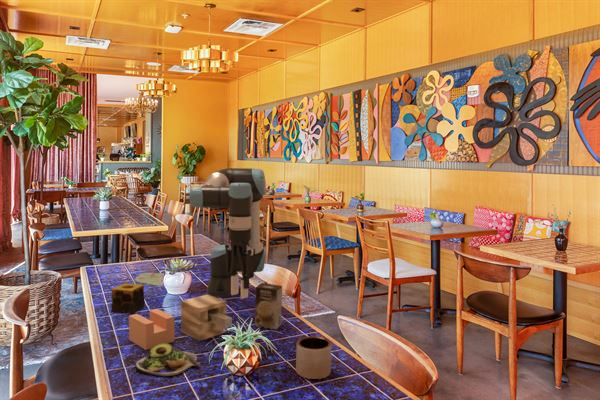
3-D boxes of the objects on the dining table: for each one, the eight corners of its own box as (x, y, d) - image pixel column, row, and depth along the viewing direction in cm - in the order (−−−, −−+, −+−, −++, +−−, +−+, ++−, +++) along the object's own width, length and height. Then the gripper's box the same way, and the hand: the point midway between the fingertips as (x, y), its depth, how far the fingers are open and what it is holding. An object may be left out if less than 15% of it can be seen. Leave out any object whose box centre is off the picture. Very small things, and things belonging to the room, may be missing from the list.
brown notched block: (207, 324, 183) (207, 294, 182) (226, 332, 175) (226, 301, 174) (181, 331, 174) (181, 300, 173) (199, 340, 166) (199, 308, 165)
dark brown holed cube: (132, 314, 193) (132, 291, 192) (110, 312, 195) (110, 289, 194) (145, 306, 203) (145, 284, 202) (124, 304, 205) (124, 282, 204)
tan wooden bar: (196, 311, 180) (196, 303, 179) (231, 326, 165) (231, 317, 164) (189, 313, 178) (189, 305, 177) (225, 328, 162) (225, 319, 162)
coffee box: (254, 327, 181) (254, 286, 179) (260, 321, 187) (261, 282, 185) (276, 330, 178) (276, 289, 176) (282, 324, 184) (282, 285, 182)
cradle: (157, 332, 173) (157, 308, 173) (174, 341, 165) (174, 316, 164) (129, 340, 166) (128, 315, 165) (146, 350, 157) (145, 324, 157)
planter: (308, 361, 151) (309, 333, 150) (337, 370, 145) (338, 341, 144) (288, 374, 142) (289, 343, 141) (318, 384, 136) (319, 352, 135)
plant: (185, 281, 246) (185, 265, 245) (149, 289, 231) (149, 271, 231) (162, 272, 264) (162, 257, 263) (127, 279, 249) (126, 262, 248)
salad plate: (213, 359, 152) (213, 346, 151) (180, 383, 135) (180, 368, 135) (164, 349, 159) (164, 336, 158) (127, 371, 142) (127, 357, 142)
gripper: (215, 226, 160) (215, 292, 162) (248, 232, 148) (247, 304, 150) (232, 224, 165) (232, 288, 167) (265, 230, 153) (264, 299, 155)
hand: (239, 295), depth 158 cm, fingers open, 4 cm apart
